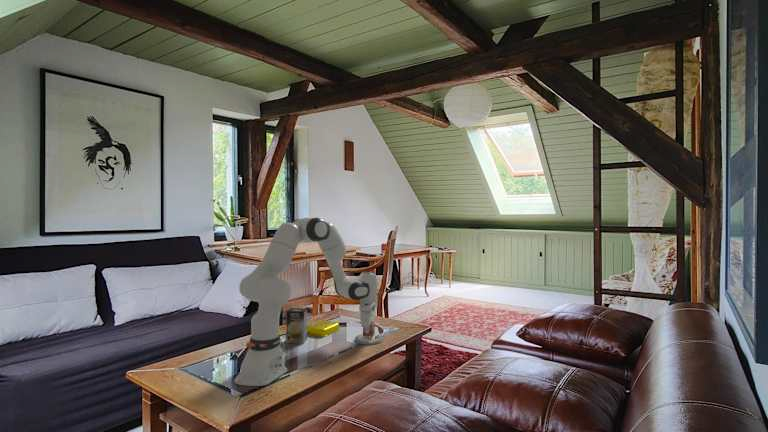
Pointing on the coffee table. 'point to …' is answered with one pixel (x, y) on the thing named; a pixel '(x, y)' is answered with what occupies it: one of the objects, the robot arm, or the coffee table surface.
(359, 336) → the dish
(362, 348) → the coffee table surface
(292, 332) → the coffee box
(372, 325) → the block
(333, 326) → the element tile
